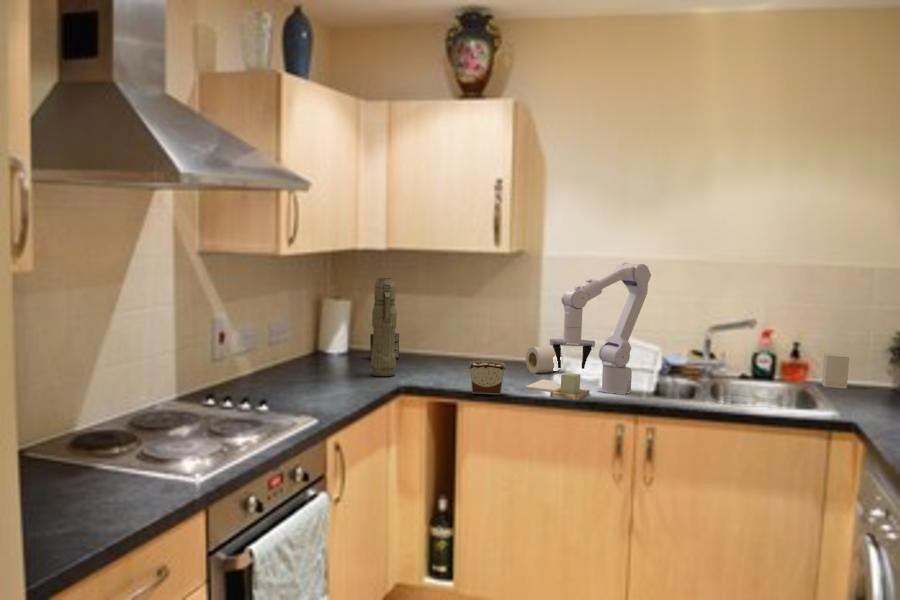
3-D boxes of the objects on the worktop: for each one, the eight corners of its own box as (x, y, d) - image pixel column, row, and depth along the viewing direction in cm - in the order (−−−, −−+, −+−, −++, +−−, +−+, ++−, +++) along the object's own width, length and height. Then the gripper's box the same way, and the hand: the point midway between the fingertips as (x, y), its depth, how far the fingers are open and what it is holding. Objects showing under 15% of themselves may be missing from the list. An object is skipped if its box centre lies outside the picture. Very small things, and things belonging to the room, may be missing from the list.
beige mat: (571, 385, 274) (571, 383, 274) (555, 392, 261) (555, 390, 261) (542, 381, 280) (542, 379, 280) (525, 388, 267) (525, 386, 266)
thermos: (376, 377, 279) (378, 279, 276) (367, 371, 290) (368, 277, 287) (400, 376, 282) (402, 279, 279) (389, 370, 293) (391, 277, 290)
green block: (579, 395, 259) (580, 374, 258) (573, 398, 254) (574, 376, 253) (566, 393, 261) (567, 372, 260) (560, 396, 256) (561, 375, 255)
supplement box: (847, 392, 276) (849, 357, 274) (823, 390, 278) (826, 355, 277) (843, 388, 282) (846, 354, 281) (821, 386, 285) (823, 352, 284)
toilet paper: (547, 369, 305) (548, 344, 304) (561, 374, 296) (562, 348, 295) (525, 371, 300) (526, 345, 300) (538, 375, 291) (539, 349, 291)
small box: (390, 356, 325) (390, 331, 324) (399, 358, 320) (400, 333, 319) (369, 358, 318) (369, 333, 318) (378, 361, 314) (378, 335, 313)
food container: (505, 390, 262) (506, 361, 261) (505, 394, 256) (506, 364, 255) (468, 389, 263) (469, 359, 262) (467, 392, 257) (468, 362, 256)
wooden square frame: (589, 394, 260) (589, 390, 260) (578, 400, 250) (578, 395, 250) (562, 390, 264) (562, 386, 264) (550, 396, 255) (550, 392, 255)
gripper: (594, 326, 259) (592, 366, 260) (549, 324, 260) (548, 364, 261) (596, 328, 252) (594, 370, 253) (550, 326, 253) (549, 368, 254)
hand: (571, 367), depth 257 cm, fingers open, 7 cm apart
